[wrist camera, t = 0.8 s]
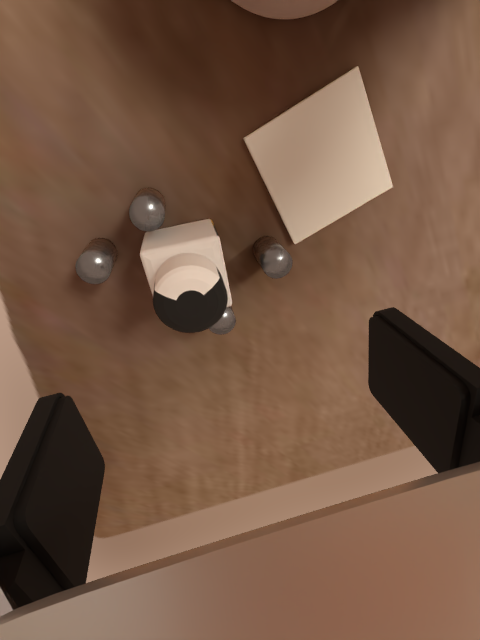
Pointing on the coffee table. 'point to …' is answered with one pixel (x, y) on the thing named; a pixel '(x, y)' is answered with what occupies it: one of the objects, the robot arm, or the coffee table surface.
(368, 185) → the pad
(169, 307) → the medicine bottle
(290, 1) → the container
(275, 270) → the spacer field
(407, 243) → the coffee table surface
